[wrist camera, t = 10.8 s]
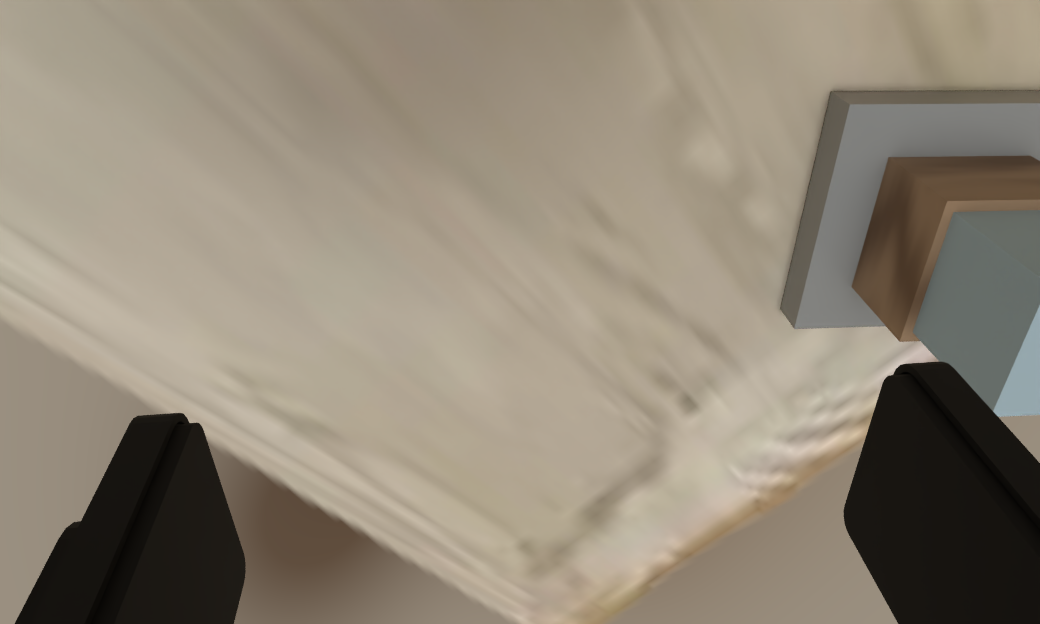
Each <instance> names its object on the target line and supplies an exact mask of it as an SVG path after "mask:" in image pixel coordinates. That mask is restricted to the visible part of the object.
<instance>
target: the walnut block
mask: <svg viewBox="0 0 1040 624" xmlns="http://www.w3.org/2000/svg"><path fill="white" fill-rule="evenodd" d="M1020 210H1040V161H1039V160H1037V159H1035V158H1034V157H1032V156H949V157H888V161H887V164H886V168H885V171H884V175H883V178H882V182H881V185H880V189H879V192H878V196H877V199H876V203H875V206H874V210H873V213H872V217H871V220H870V224H869V227H868V231H867V234H866V238H865V241H864V245H863V248H862V252H861V255H860V259H859V262H858V266H857V269H856V273H855V276H854V280H853V283H852V288H853V289H854V290H855V292H856V293H857V294H858V295H859V296H860V297H861V298H862V299H863V301H864V302H865V303H866V304H867V305H868V306H869V307H870V309H871V310H872V311H873V312H874V313H875V314H876V315H877V316H878V318H879V319H880V320H881V321H882V322H883V323H884V324H885V326H886V327H887V328H888V329H889V330H890V331H891V332H892V334H893V335H894V336H895V337H896V338H897V339H898V340H899V341H900V342H903V341H920V340H919V339H918V338H917V337H916V335H915V334H914V333H913V329H914V326H915V323H916V320H917V318H918V315H919V312H920V309H921V306H922V303H923V300H924V297H925V294H926V291H927V288H928V285H929V282H930V280H931V277H932V274H933V271H934V268H935V265H936V262H937V259H938V256H939V253H940V250H941V247H942V244H943V241H944V239H945V236H946V233H947V230H948V227H949V224H950V221H951V218H952V215H953V212H975V211H1020Z"/></svg>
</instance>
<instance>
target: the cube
mask: <svg viewBox="0 0 1040 624" xmlns="http://www.w3.org/2000/svg"><path fill="white" fill-rule="evenodd" d="M913 333H914V334H915V335H916V337H917V338H918V339H919V340H920V341H921V342H922V343H923V344H924V345H925V346H926V347H927V348H928V350H929V351H930V352H931V353H932V354H933V355H934V356H935V357H936V358H937V359H938V360H939V361H940V362H941V361H942V362H946V363H948V364H950V365H951V366H952V367H953V368H954V369H955V370H956V371H957V372H958V373H959V374H960V375H961V376H962V378H963V379H964V380H965V381H966V382H967V383H968V384H969V385H970V386H971V388H972V389H973V390H974V391H975V392H976V393H977V394H978V395H979V396H980V398H981V399H982V400H983V401H984V402H985V403H986V404H987V405H988V406H989V408H990V409H991V410H992V411H993V412H994V413H995V414H996V415H997V416H998V417H1000V416H1022V415H1040V210H1020V211H975V212H953V215H952V218H951V221H950V224H949V227H948V230H947V233H946V236H945V239H944V241H943V244H942V247H941V250H940V253H939V256H938V259H937V262H936V265H935V268H934V271H933V274H932V277H931V280H930V282H929V285H928V288H927V291H926V294H925V297H924V300H923V303H922V306H921V309H920V312H919V315H918V318H917V320H916V323H915V326H914V329H913Z"/></svg>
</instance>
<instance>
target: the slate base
mask: <svg viewBox="0 0 1040 624" xmlns="http://www.w3.org/2000/svg"><path fill="white" fill-rule="evenodd" d="M949 156H1032V157H1034V158H1035V159H1037V160H1039V161H1040V90H1038V91H837V92H831V95H830V99H829V103H828V107H827V112H826V116H825V120H824V125H823V129H822V133H821V137H820V142H819V146H818V150H817V155H816V159H815V163H814V167H813V172H812V176H811V180H810V185H809V189H808V193H807V197H806V202H805V206H804V210H803V215H802V219H801V223H800V227H799V232H798V236H797V240H796V244H795V249H794V253H793V257H792V262H791V266H790V270H789V274H788V279H787V283H786V287H785V292H784V296H783V300H782V304H781V310H782V312H783V313H784V315H785V316H786V318H787V319H788V321H789V322H790V323H791V325H792V326H793V328H794V329H807V328H840V327H874V326H885V324H884V323H883V322H882V321H881V320H880V319H879V318H878V316H877V315H876V314H875V313H874V312H873V311H872V310H871V309H870V307H869V306H868V305H867V304H866V303H865V302H864V301H863V299H862V298H861V297H860V296H859V295H858V294H857V293H856V292H855V290H854V289H853V288H852V283H853V280H854V276H855V273H856V269H857V266H858V262H859V259H860V255H861V252H862V248H863V245H864V241H865V238H866V234H867V231H868V227H869V224H870V220H871V217H872V213H873V210H874V206H875V203H876V199H877V196H878V192H879V189H880V185H881V182H882V178H883V175H884V171H885V168H886V164H887V161H888V157H949Z"/></svg>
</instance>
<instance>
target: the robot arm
mask: <svg viewBox="0 0 1040 624" xmlns="http://www.w3.org/2000/svg"><path fill="white" fill-rule="evenodd" d="M844 521H845V526H846V529H847V531H848V533H849V536H850V537H851V539H852V541H853V543H854V545H855V546H856V548H857V550H858V552H859V553H860V555H861V557H862V559H863V561H864V563H865V564H866V566H867V568H868V570H869V571H870V573H871V575H872V577H873V579H874V581H875V582H876V584H877V586H878V588H879V590H880V591H881V593H882V595H883V597H884V598H885V600H886V602H887V604H888V606H889V608H890V609H891V611H892V613H893V615H894V617H895V618H896V620H897V622H898V624H1040V463H1039V462H1038V461H1037V460H1036V459H1035V457H1034V456H1033V455H1032V454H1031V453H1030V452H1029V451H1028V450H1027V449H1026V448H1025V446H1024V445H1023V444H1022V443H1021V442H1020V441H1019V440H1018V439H1017V438H1016V436H1015V435H1014V434H1013V433H1012V432H1011V431H1010V430H1009V429H1008V427H1007V426H1006V425H1005V424H1004V423H1003V422H1002V421H1001V420H1000V419H999V417H998V416H997V415H996V414H995V413H994V412H993V411H992V410H991V409H990V408H989V406H988V405H987V404H986V403H985V402H984V401H983V400H982V399H981V398H980V396H979V395H978V394H977V393H976V392H975V391H974V390H973V389H972V388H971V386H970V385H969V384H968V383H967V382H966V381H965V380H964V379H963V378H962V376H961V375H960V374H959V373H958V372H957V371H956V370H955V369H954V368H953V367H952V366H951V365H950V364H948V363H946V362H942V361H941V362H927V363H912V364H903V365H900V366H899V367H898V368H897V369H896V370H895V372H894V375H891V376H888V377H887V378H885V380H884V382H883V384H882V387H881V391H880V394H879V397H878V400H877V404H876V407H875V410H874V413H873V416H872V420H871V423H870V426H869V429H868V432H867V436H866V439H865V442H864V445H863V448H862V452H861V455H860V458H859V462H858V464H857V468H856V471H855V474H854V477H853V481H852V484H851V487H850V490H849V493H848V497H847V500H846V503H845V507H844ZM244 579H245V557H244V553H243V550H242V547H241V544H240V541H239V537H238V534H237V531H236V528H235V525H234V522H233V519H232V516H231V513H230V510H229V507H228V504H227V501H226V498H225V495H224V492H223V489H222V485H221V482H220V479H219V476H218V473H217V470H216V468H215V464H214V461H213V458H212V455H211V452H210V449H209V446H208V443H207V440H206V437H205V433H204V431H203V428H202V426H201V425H200V424H199V423H189V421H188V419H187V417H186V416H185V415H184V414H182V413H172V414H157V415H143V416H137V417H135V418H133V420H132V421H131V423H130V424H129V426H128V428H127V430H126V433H125V434H124V436H123V438H122V440H121V442H120V444H119V446H118V448H117V450H116V452H115V454H114V457H113V458H112V460H111V462H110V464H109V466H108V468H107V470H106V472H105V474H104V476H103V478H102V480H101V482H100V484H99V486H98V488H97V490H96V492H95V494H94V496H93V499H92V501H91V502H90V504H89V506H88V508H87V510H86V513H85V514H84V516H83V518H82V521H80V522H74V523H72V524H71V525H70V526H68V527H67V528H66V529H65V530H64V532H63V533H62V535H61V537H60V538H59V539H58V541H57V543H56V545H55V547H54V549H53V551H52V553H51V555H50V557H49V559H48V561H47V562H46V564H45V566H44V568H43V570H42V572H41V574H40V576H39V578H38V580H37V582H36V584H35V586H34V588H33V589H32V591H31V594H30V595H29V597H28V599H27V601H26V603H25V605H24V607H23V609H22V611H21V613H20V615H19V617H18V618H17V620H16V622H15V624H234V620H235V616H236V611H237V608H238V604H239V600H240V596H241V592H242V588H243V584H244Z"/></svg>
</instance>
